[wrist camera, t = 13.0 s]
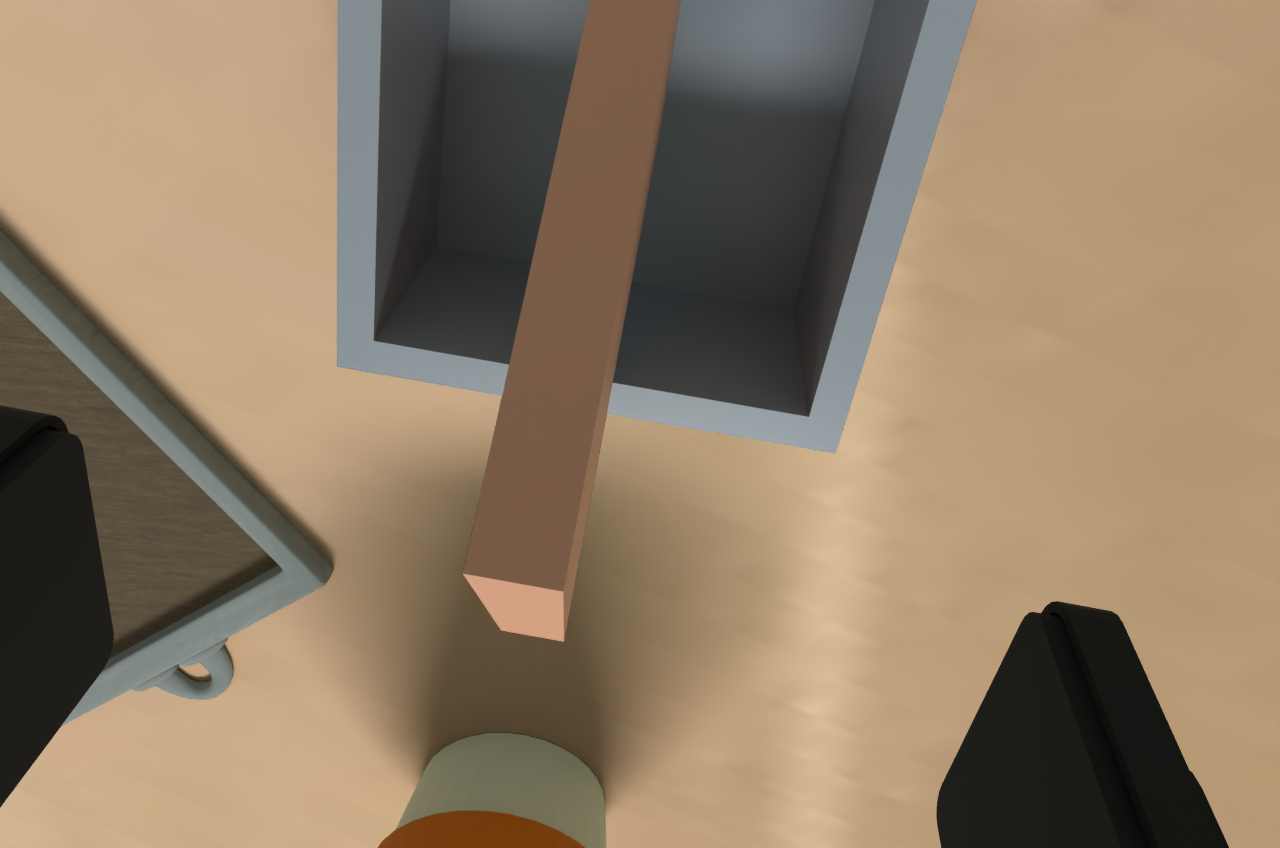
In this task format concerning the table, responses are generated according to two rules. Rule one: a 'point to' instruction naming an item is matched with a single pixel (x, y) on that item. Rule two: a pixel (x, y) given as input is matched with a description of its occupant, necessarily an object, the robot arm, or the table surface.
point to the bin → (676, 205)
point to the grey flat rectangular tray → (149, 500)
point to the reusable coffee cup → (503, 798)
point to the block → (572, 322)
